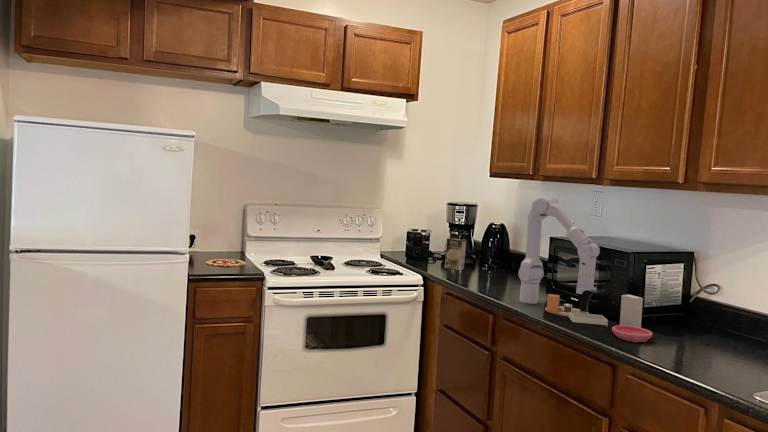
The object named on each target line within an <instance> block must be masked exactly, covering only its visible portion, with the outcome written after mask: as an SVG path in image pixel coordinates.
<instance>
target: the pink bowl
mask: <svg viewBox="0 0 768 432" xmlns="http://www.w3.org/2000/svg"><path fill="white" fill-rule="evenodd" d="M611 330H612V332H613V334H614V335H615V337H616V338H617V337H618V338H617V339H619V338H620V339H619V340H622V339H623V341H625V340H626V342H630V341H631V343H638V342H643V343H646V342H647V341H648V340H650V339H651V338H652V337H653V332H652V330H651V331H650V330H648V329H646V328H643V327H641V328H639V327H634V326H625V325H620V324H619V325H614V326H612V328H611Z"/></svg>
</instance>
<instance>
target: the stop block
mask: <svg viewBox="0 0 768 432" xmlns="http://www.w3.org/2000/svg"><path fill="white" fill-rule="evenodd" d="M560 297H561V295H559V294H553V293H548V295H547V298H546V299H547V300H546V301H547V302H546V307H547V310H545V312H548V311H550V312H556V313H557V312H558V309H559V306H560ZM550 312H549V313H550Z"/></svg>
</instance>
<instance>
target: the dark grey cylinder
mask: <svg viewBox="0 0 768 432" xmlns="http://www.w3.org/2000/svg"><path fill="white" fill-rule="evenodd" d="M564 307H567V308H573V304H570V303H563V306H562V307H560V305H559V309H558V310H563V308H564ZM577 309H578V308H576V309H572V312H575V313H583V314H587V312H589V311H588V310H589V305H588V306H587V309H586V311H584V310H577Z"/></svg>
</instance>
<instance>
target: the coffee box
mask: <svg viewBox="0 0 768 432" xmlns="http://www.w3.org/2000/svg"><path fill="white" fill-rule="evenodd" d="M466 248H467V240H466V239H461V238H454V237H449V238H446V246H445V249H446V250H445V261H444V268H445V269H449V270H454V271H455V270H456V271H462V270H464V269H465V260H466V259H465V258H466Z"/></svg>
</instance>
